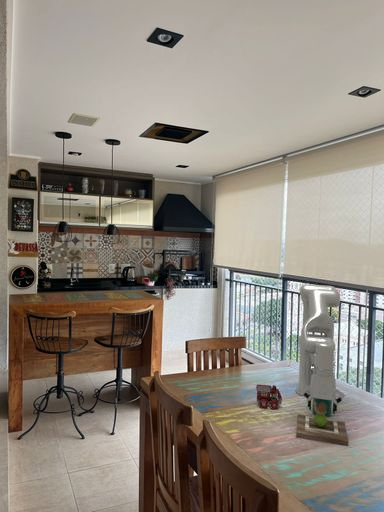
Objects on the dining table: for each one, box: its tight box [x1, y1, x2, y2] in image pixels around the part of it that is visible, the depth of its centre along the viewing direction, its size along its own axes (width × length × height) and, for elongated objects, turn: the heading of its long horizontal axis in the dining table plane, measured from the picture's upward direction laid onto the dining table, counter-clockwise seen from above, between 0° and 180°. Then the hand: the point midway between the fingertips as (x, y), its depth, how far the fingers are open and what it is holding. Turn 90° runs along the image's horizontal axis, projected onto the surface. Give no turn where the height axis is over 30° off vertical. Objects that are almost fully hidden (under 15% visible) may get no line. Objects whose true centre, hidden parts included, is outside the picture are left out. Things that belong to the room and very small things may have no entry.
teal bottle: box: [311, 364, 333, 418], centre depth 183 cm, size 10×8×22 cm
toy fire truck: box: [255, 383, 283, 410], centre depth 188 cm, size 7×12×10 cm, turn 84°
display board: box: [295, 414, 349, 447], centre depth 164 cm, size 18×20×3 cm
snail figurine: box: [312, 398, 328, 427], centre depth 164 cm, size 5×6×12 cm
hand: (321, 410), depth 164 cm, fingers open, 9 cm apart
